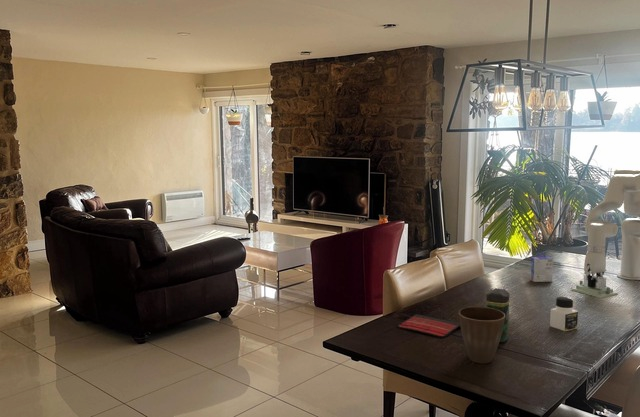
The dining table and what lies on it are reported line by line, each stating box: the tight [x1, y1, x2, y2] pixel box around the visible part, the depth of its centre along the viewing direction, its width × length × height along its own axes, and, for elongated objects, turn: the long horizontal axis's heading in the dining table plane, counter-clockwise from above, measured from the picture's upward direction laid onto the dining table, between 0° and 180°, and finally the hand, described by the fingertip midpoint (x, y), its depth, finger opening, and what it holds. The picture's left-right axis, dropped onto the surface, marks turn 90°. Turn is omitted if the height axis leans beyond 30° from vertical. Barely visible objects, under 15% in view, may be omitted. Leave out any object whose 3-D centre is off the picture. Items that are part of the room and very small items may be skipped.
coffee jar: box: [485, 288, 511, 343], centre depth 206 cm, size 10×8×19 cm
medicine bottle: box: [549, 295, 579, 332], centre depth 218 cm, size 7×7×12 cm
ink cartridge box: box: [530, 252, 554, 283], centre depth 290 cm, size 10×6×14 cm, turn 89°
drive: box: [583, 274, 607, 291], centre depth 267 cm, size 4×9×6 cm, turn 27°
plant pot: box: [458, 306, 505, 364], centre depth 187 cm, size 15×15×16 cm
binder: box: [397, 313, 461, 339], centre depth 220 cm, size 16×2×21 cm
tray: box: [570, 280, 619, 299], centre depth 268 cm, size 12×16×4 cm
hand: (594, 286), depth 268 cm, fingers open, 4 cm apart
